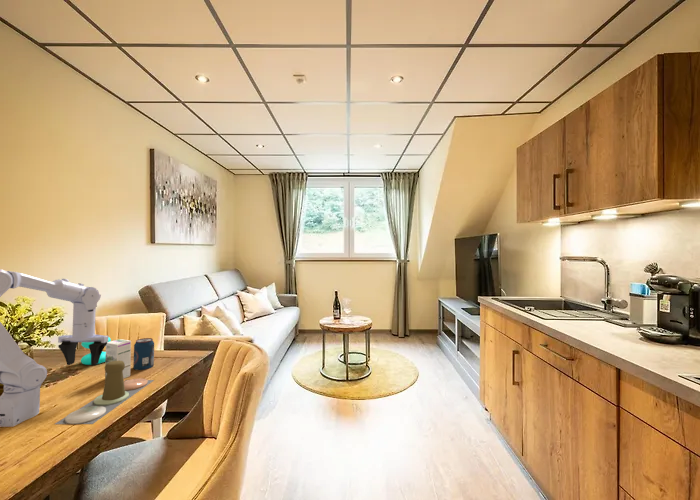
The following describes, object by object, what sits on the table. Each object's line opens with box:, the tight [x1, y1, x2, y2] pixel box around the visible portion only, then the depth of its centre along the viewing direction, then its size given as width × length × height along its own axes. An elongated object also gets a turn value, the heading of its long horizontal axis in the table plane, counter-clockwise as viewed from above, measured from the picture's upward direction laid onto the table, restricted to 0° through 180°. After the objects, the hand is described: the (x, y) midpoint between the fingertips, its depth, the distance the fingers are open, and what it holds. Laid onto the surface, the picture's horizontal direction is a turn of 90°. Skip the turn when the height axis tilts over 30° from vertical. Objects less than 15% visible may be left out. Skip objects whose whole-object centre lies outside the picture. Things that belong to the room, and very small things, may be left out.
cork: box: [102, 360, 125, 400], centre depth 102 cm, size 6×6×11 cm
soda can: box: [132, 337, 155, 371], centre depth 130 cm, size 7×7×12 cm
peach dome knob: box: [124, 378, 149, 391], centre depth 112 cm, size 9×9×1 cm
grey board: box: [54, 379, 155, 425], centre depth 101 cm, size 30×10×1 cm, turn 3°
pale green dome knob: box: [93, 391, 129, 406], centre depth 101 cm, size 9×9×1 cm
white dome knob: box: [64, 406, 106, 425], centre depth 91 cm, size 9×9×1 cm
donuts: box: [80, 336, 112, 366], centre depth 137 cm, size 10×10×10 cm
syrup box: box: [104, 338, 132, 380], centre depth 118 cm, size 6×6×14 cm
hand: (82, 364), depth 105 cm, fingers open, 7 cm apart
